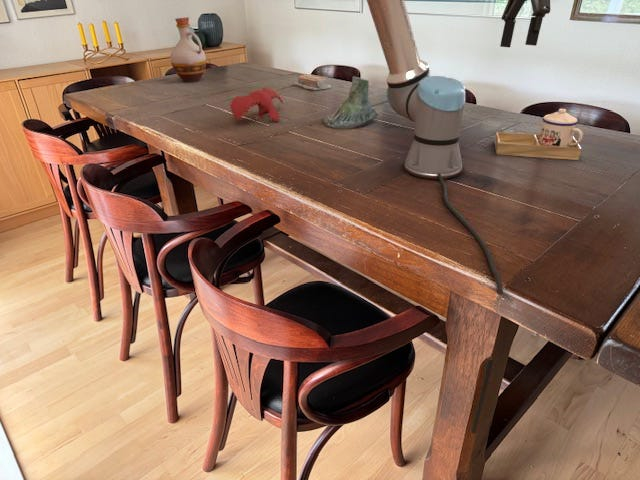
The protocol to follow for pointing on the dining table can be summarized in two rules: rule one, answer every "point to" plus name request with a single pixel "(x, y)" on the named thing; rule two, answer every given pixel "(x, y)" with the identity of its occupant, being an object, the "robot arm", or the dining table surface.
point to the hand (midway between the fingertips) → (517, 46)
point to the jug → (187, 54)
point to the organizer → (532, 147)
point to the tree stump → (353, 108)
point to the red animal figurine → (259, 98)
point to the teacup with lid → (559, 130)
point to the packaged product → (312, 82)
